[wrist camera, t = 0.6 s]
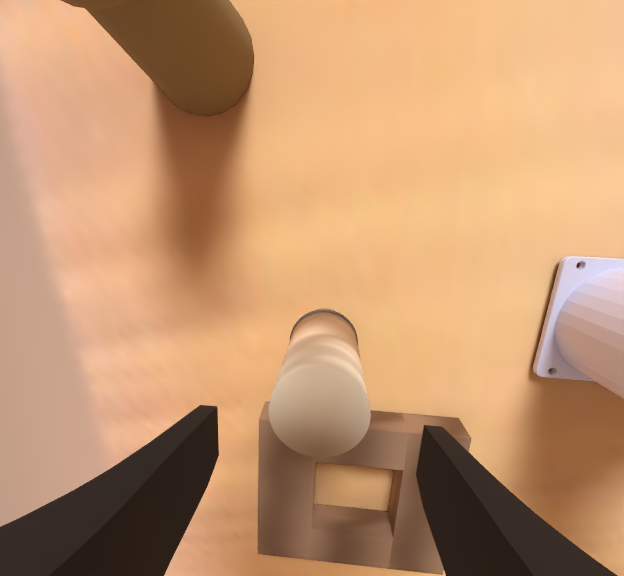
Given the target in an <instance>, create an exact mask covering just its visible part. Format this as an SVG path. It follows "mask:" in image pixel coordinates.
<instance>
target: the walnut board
mask: <svg viewBox="0 0 624 576" xmlns="http://www.w3.org/2000/svg"><path fill="white" fill-rule="evenodd" d="M269 403H270V402H265V405H264V407H263V410H262V413H261V416H260V419H259V480H258V554H263V555H272V556H281V557H290V558H299V559H307V560H316V561H325V562H334V563H343V564H352V565H361V566H370V567H378V568H387V569H396V570H405V571H414V572H423V573H432V574H440V575H443V570H444V568H443V565H442V562H441V559H440V556H439V553H438V550H437V547H436V545H435V542H434V539H433V536H432V533H431V530H430V527H429V524H428V521H427V518H426V515H425V512H424V509H423V505H422V500H421V496H420V492H419V487H418V482H417V478H416V470H417V464H418V458H419V452H420V446H421V440H422V434H423V428H424V425H431V426H442V427H443V428H444V429H445V430H447V431H448V432H449V433H450V434H451V435H452V436H453V437H454V438H455V439H456V440H457V441H458V442H459V443H460V444H461V445H462V446H463V447H464V448H465V449H466V450H467V451H468V452H469V447H470V442H471V437H470V436H469V434H468V432H467V431H466V429H465V428H464V426H463V424H462V423H461V421H460V420H459V418H450V417H439V416H427V415H415V414H404V413H392V412H381V411H370V412H371V417H370V424H369V427H368V430H367V432H366V434H365V436H364V437H363V439H362V440H361V441H360V442H359V443H358V444H357V445H356V446H355V447H354V448H352V449H351V450H349V451H347V452H345V453H343V454H340V455H337V456H333V457H324V458H320V457H311V456H306V455H303V454H300V453H298V452H296V451H294V450H292V449H291V448H289V447H288V446H286V445H285V444H284V443H283V442H282V441H281V440H280V439H279V438H278V437H277V435H276V434H275V432H274V430H273V428H272V426H271V423H270V419H269ZM316 462H320V463H331V464H341V465H352V466H362V467H373V468H383V469H393V470H394V474H393V481H392V488H391V495H390V502H389V509H388V512H387V511H377V510H368V509H358V508H348V507H339V506H329V505H319V504H313V496H314V481H315V466H316Z"/></svg>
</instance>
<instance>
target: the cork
mask: <svg viewBox="0 0 624 576" xmlns="http://www.w3.org/2000/svg"><path fill="white" fill-rule="evenodd" d="M61 1H64V2H66V3H68V4H70V5H72V6H75V7H82V8H85V9H86V10H87V11H88V12H89V13H90V14H91V15H92V16H93V17H94V18H95V19H96V20H97V21H98V23H99V24H100V25H101V26H102V27H103V28H104V29H105V30H106V31H107V32H108V33H109V34H110V35H111V36H112V38H113V39H114V40H115V41H116V42H117V43H118V44H119V45H120V46H121V47H122V48H123V49H124V50H125V52H126V53H127V54H128V55H129V56H130V57H131V58H132V59H133V60H134V61H135V62H136V63H137V64H138V66H139V67H140V68H141V69H142V70H143V71H144V72H145V73H146V74H147V75H148V76H149V77H150V78H151V80H152V81H153V82H154V83H155V84H156V85H157V86H158V87H159V88H160V89H161V90H162V91H163V92H164V93H165V95H166V96H167V97H168V98H169V99H170V100H171V101H172V102H173V103H174V104H175V105H176V106H178V107H180V108H182V109H183V110H185V111H187V112H189V113H191V114H197V115H203V116H209V115H214V114H219V113H222V112H224V111H226V110H227V109H229V108H230V107H232V106H234V105H235V104H236V103H237V102H238V100H239V99H240V98H241V97H242V96H243V94H244V93H245V92H246V89H247V87H248V85H249V82H250V80H251V77H252V73H253V63H254V52H253V46H252V40H251V36H250V34H249V32H248V29H247V27H246V25H245V23H244V21H243V19H242V18H241V16H240V15H239V13H238V12H237V11H236V9H235V8H234V6H233V5H232V3H231V2H230V1H229V0H61Z"/></svg>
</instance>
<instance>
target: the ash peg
mask: <svg viewBox="0 0 624 576" xmlns="http://www.w3.org/2000/svg"><path fill="white" fill-rule="evenodd" d="M370 417H371V412H370V405H369V400H368V395H367V390H366V385H365V380H364V375H363V370H362V365H361V360H360V355H359V350H358V339H357V334H356V331H355V328H354V327H353V325H352V324H351V322H350V321H349V320H348V319H347V318H346V317H344V316H343V315H341V314H340V313H337V312H335V311H333V310H330V309H319V310H315V311H312V312H309V313H307V314H305V315H304V316H303V317H301V318H300V319H299V320H298V321H297V323H296V324H295V326H294V327H293V330H292V332H291V336H290V342H289V345H288V348H287V351H286V354H285V357H284V360H283V363H282V366H281V369H280V372H279V375H278V378H277V381H276V384H275V387H274V390H273V393H272V396H271V399H270V403H269V419H270V423H271V426H272V428H273V430H274V432H275V434H276V435H277V437H278V438H279V439H280V440H281V441H282V442H283V443H284V444H285V445H286V446H288V447H289V448H291V449H292V450H294V451H296V452H298V453H300V454H303V455H306V456H311V457H320V458H324V457H333V456H337V455H340V454H343V453H345V452H347V451H349V450H351V449H352V448H354V447H355V446H356V445H357V444H358V443H359V442H360V441H361V440H362V439H363V437H364V436H365V434H366V432H367V430H368V427H369V424H370Z"/></svg>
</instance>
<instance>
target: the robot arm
mask: <svg viewBox="0 0 624 576" xmlns="http://www.w3.org/2000/svg"><path fill="white" fill-rule="evenodd" d="M578 262H580V266H579V267H578V268H576V265H577V263H578ZM550 368H552V370H551V371H549V372H548V370H549V369H550ZM533 371H534V373H535V374H537V375H538V376H539V377H545V378H558V379H571V380H584V381H596V382H597V383H599V384H600V385H602V386H604V387H605V388H607V389H608V390H610V391H612V392H613V393H615V394H616V395H618V396H620V397H621V398H623V399H624V259H616V258H599V257H582V256H566V257H564V258H563V259H562V260H561V261H560V263H559V267H558V270H557V274H556V278H555V282H554V286H553V290H552V294H551V298H550V302H549V306H548V310H547V314H546V318H545V322H544V326H543V330H542V334H541V338H540V342H539V346H538V350H537V353H536V357H535V361H534V365H533ZM218 456H219V450H218V414H217V407H216V406H205V405H200V406H199V407H197V408H196V409H194V410H193V411H192V412H190V413H189V414H188V415H186V416H185V417H184V418H182V419H181V420H180V421H178V422H177V423H176V424H174V425H173V426H172V427H170V428H169V429H167V430H166V431H165V432H163V433H162V434H161V435H159V436H158V437H157V438H155V439H154V440H152V441H151V442H150V443H148V444H147V445H145V446H144V447H142V448H141V449H139V450H138V451H136V452H135V453H133V454H132V455H130V456H129V457H127V458H126V459H124V460H123V461H121V462H120V463H118V464H117V465H115V466H114V467H112V468H111V469H109V470H107V471H106V472H104V473H102V474H101V475H99V476H97V477H96V478H94V479H92V480H91V481H89V482H87V483H85V484H84V485H82V486H80V487H79V488H77V489H75V490H74V491H71V492H69V493H68V494H66V495H64V496H62V497H60V498H58V499H56V500H54V501H52V502H50V503H48V504H46V505H44V506H42V507H40V508H38V509H37V510H35V511H33V512H31V513H29V514H27V515H25V516H23V517H21V518H19V519H17V520H15V521H12V522H10V523H8V524H6V525H4V526H2V527H0V576H164V574H165V572H166V570H167V568H168V566H169V563H170V561H171V559H172V557H173V555H174V553H175V551H176V549H177V547H178V545H179V543H180V541H181V539H182V537H183V535H184V533H185V531H186V529H187V527H188V525H189V523H190V521H191V519H192V517H193V515H194V513H195V511H196V509H197V507H198V505H199V502H200V500H201V498H202V496H203V494H204V492H205V490H206V488H207V486H208V483H209V481H210V478H211V475H212V473H213V470H214V467H215V464H216V461H217V458H218ZM416 478H417V482H418V487H419V492H420V496H421V500H422V505H423V509H424V512H425V515H426V518H427V521H428V524H429V527H430V530H431V533H432V536H433V539H434V542H435V545H436V547H437V550H438V553H439V556H440V559H441V562H442V565H443V568H444V571H445V574H446V576H617V575H616V574H614V573H613V572H611V571H610V570H609V569H607V568H606V567H604V566H603V565H602V564H600V563H599V562H597V561H596V560H595V559H593V558H592V557H590V556H589V555H588V554H586V553H585V552H584V551H582V550H581V549H580V548H578V547H577V546H576V545H574V544H573V543H572V542H571V541H569V540H568V539H567V538H566V537H564V536H563V535H562V534H560V533H559V532H558V531H557V530H555V529H554V528H553V527H552V526H550V525H549V524H548V523H546V522H545V521H544V520H543V519H542V518H540V517H539V516H538V515H537V514H536V513H534V512H533V511H532V510H531V509H530V508H529V507H527V506H526V505H525V504H524V503H523V502H522V501H520V500H519V499H518V498H517V497H516V496H515V495H514V494H512V493H511V492H510V491H509V490H508V489H507V488H506V487H505V486H504V485H502V484H501V483H500V482H499V481H498V480H497V479H496V478H495V477H494V476H493V475H492V474H491V473H490V472H489V471H487V470H486V469H485V468H484V467H483V466H482V465H481V464H480V463H479V462H478V461H477V460H476V459H475V458H474V457H473V456H472V455H471V454H470V453H469V452H468V451H467V450H466V449H465V448H464V447H463V446H462V445H461V444H460V443H459V442H458V441H457V440H456V439H455V438H454V437H453V436H452V435H451V434H450V433H449V432H448V431H447V430H445V429H444V428H443V427H442V426H431V425H424V428H423V434H422V440H421V446H420V452H419V458H418V464H417V470H416Z"/></svg>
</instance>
